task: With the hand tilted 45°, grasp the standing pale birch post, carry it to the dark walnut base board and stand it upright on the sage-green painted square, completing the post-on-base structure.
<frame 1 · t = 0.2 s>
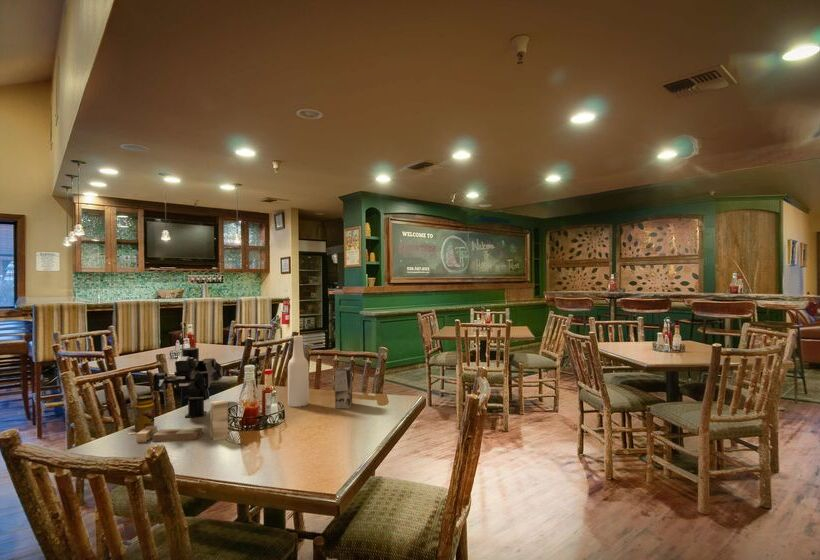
hand: (173, 387, 153), 17 cm above the table, tool horizontal, fingers open, 9 cm apart
coffee box: (343, 406, 191), on the table
birch post: (218, 437, 151), on the table
alcohol: (298, 405, 193), on the table
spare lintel: (146, 438, 151), on the table
walnut base: (178, 437, 151), on the table
condiment: (141, 430, 159), on the table
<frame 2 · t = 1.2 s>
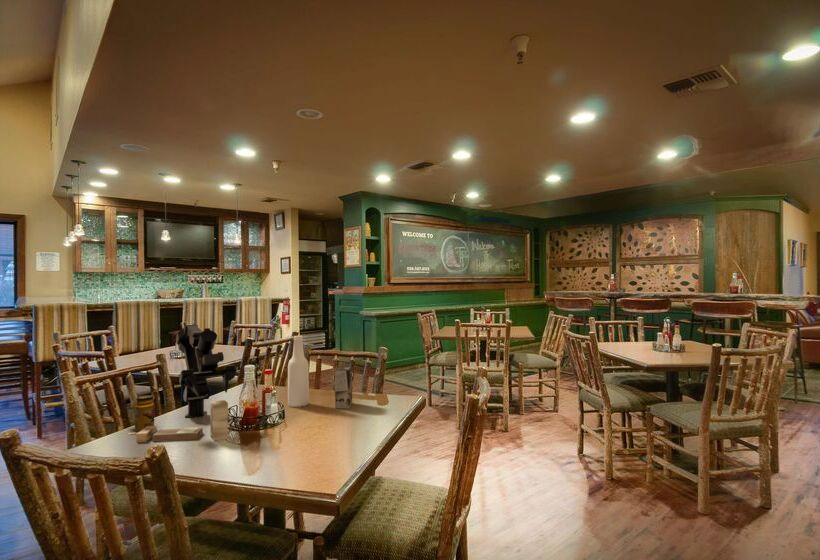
hand: (212, 393, 157), 13 cm above the table, tool tilted 45°, fingers open, 9 cm apart
nothing on the table moved.
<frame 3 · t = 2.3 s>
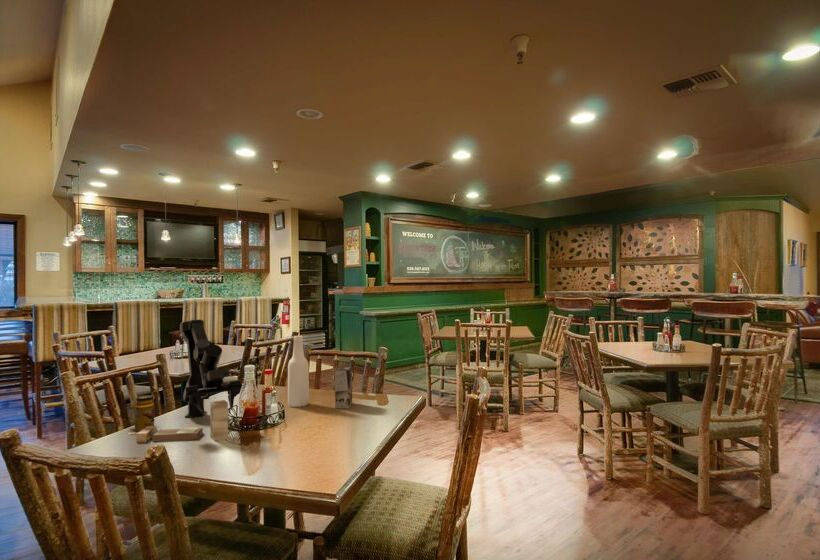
hand: (218, 410, 152), 9 cm above the table, tool tilted 45°, fingers open, 9 cm apart
nothing on the table moved.
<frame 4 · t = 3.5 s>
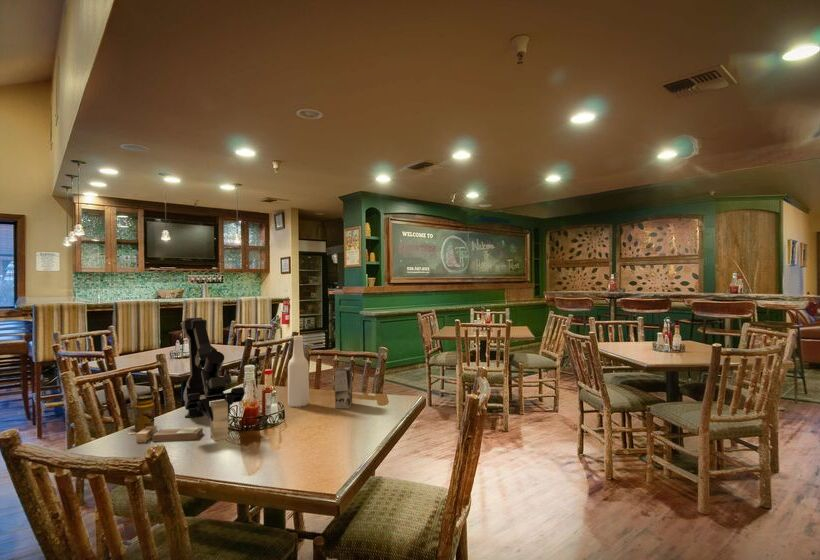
hand: (220, 419, 150), 7 cm above the table, tool tilted 45°, fingers closed on birch post, 4 cm apart
birch post: (218, 437, 151), on the table, touching gripper
everything else where it was.
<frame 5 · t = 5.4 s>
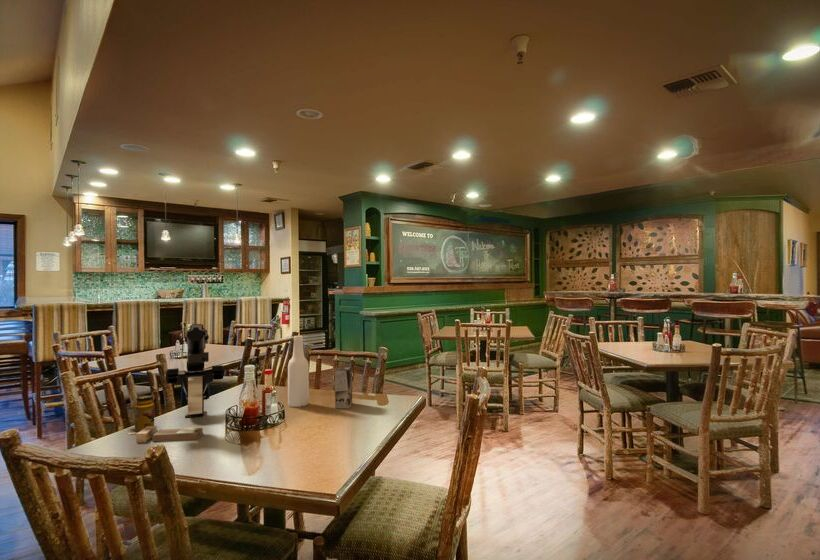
hand: (195, 394, 155), 14 cm above the table, tool tilted 45°, fingers closed on birch post, 4 cm apart
birch post: (195, 412, 157), point 7 cm above the table, touching gripper
everything else where it was.
when the fingers open (10 cm above the table, at t = 7.5 s): birch post stays where it is, resting on walnut base.
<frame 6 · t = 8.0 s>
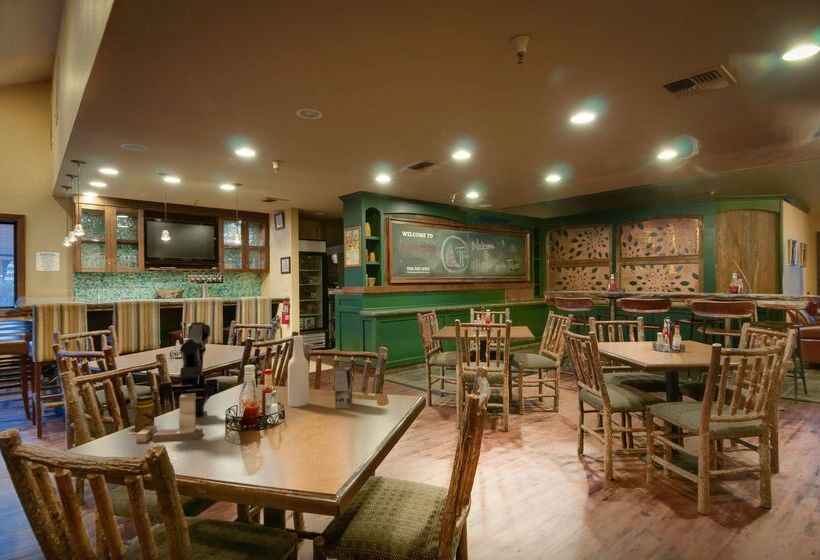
hand: (187, 409, 151), 10 cm above the table, tool tilted 45°, fingers open, 9 cm apart
birch post: (187, 430, 152), point 2 cm above the table, touching walnut base
everything else where it was.
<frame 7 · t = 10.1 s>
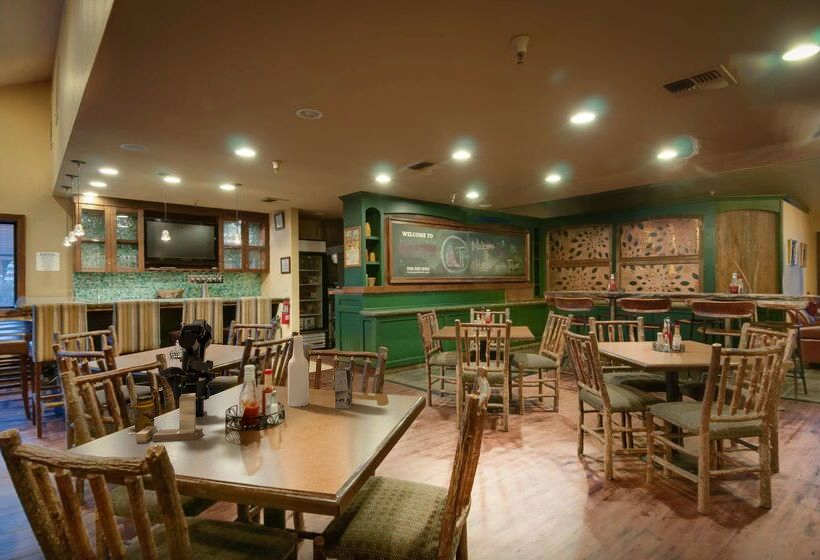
hand: (187, 398, 160), 11 cm above the table, tool tilted 25°, fingers open, 9 cm apart
nothing on the table moved.
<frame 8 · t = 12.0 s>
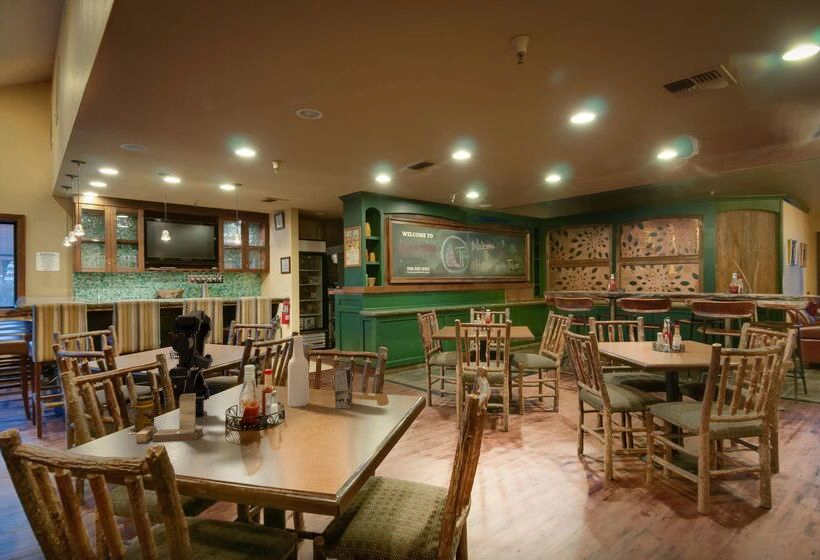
hand: (187, 391, 162), 13 cm above the table, tool pointing down, fingers open, 9 cm apart
nothing on the table moved.
at the end: birch post 0.0 cm from the target spot on the walnut base, point 2.2 cm above the walnut base's base; birch post tilted 0°; the gripper is holding nothing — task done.
